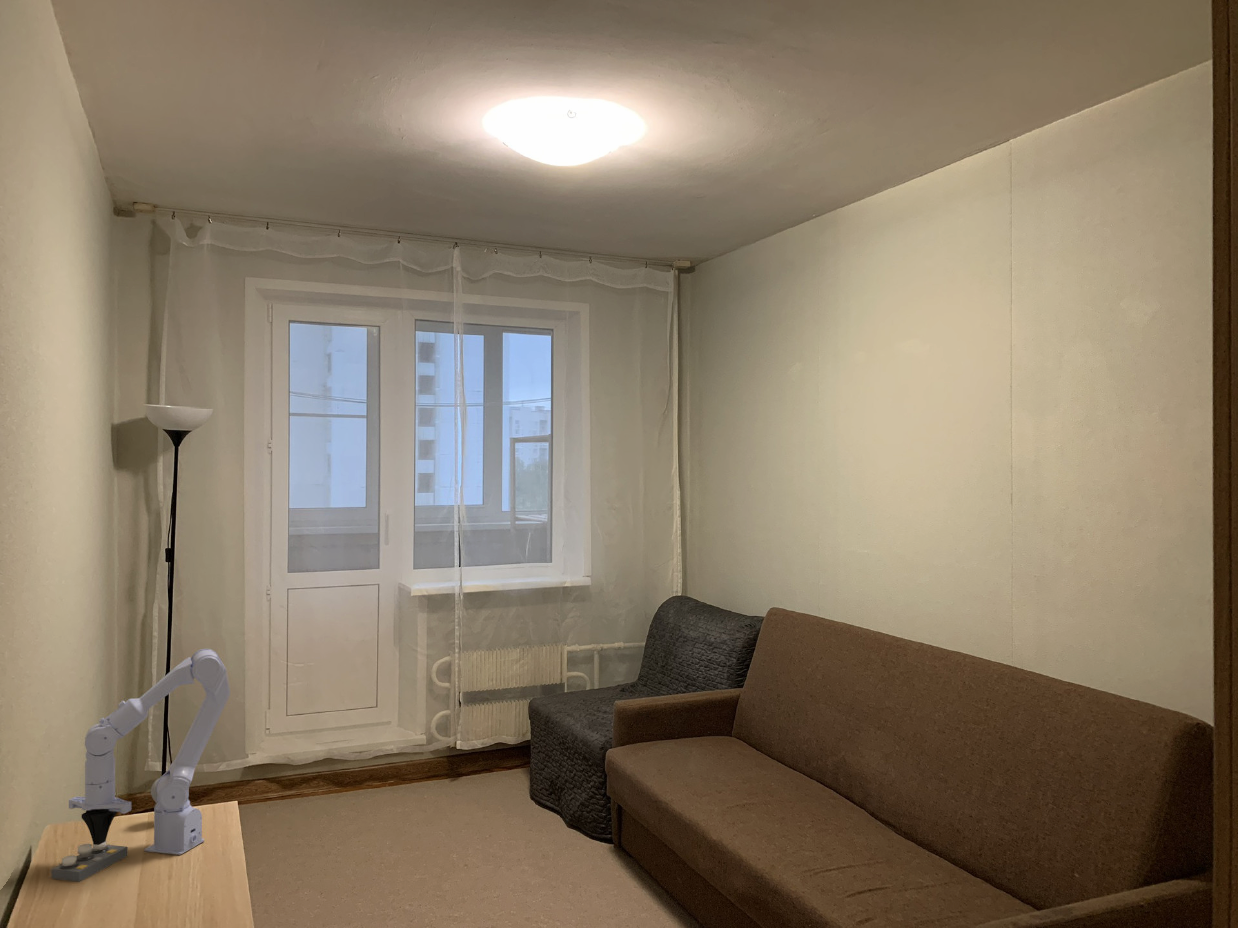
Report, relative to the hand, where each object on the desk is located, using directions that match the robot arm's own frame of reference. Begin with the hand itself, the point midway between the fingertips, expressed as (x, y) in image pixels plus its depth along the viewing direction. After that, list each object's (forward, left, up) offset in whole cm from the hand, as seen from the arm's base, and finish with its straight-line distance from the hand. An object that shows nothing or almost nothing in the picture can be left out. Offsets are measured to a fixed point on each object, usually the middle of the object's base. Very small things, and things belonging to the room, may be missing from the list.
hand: (99, 843), depth 193 cm
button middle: (0, +4, 0) cm, 4 cm away
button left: (0, +8, -1) cm, 8 cm away
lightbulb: (+1, -22, -4) cm, 22 cm away
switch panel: (-1, +3, -4) cm, 5 cm away
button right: (0, 0, -1) cm, 1 cm away
